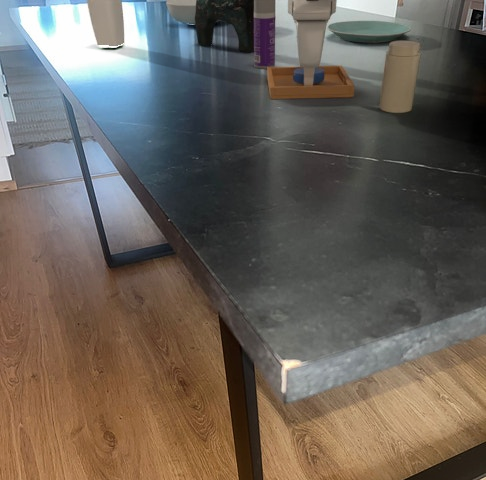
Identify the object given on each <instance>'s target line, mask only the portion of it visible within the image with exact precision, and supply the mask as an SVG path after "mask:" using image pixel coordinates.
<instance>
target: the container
mask: <svg viewBox="0 0 486 480" xmlns="http://www.w3.org/2000/svg"><path fill="white" fill-rule="evenodd" d="M253 56H254V57H253V62H254V63H253V65H254V68H256V69H263V70H264V69H266V70H267V67H276V0H254V52H253Z"/></svg>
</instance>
